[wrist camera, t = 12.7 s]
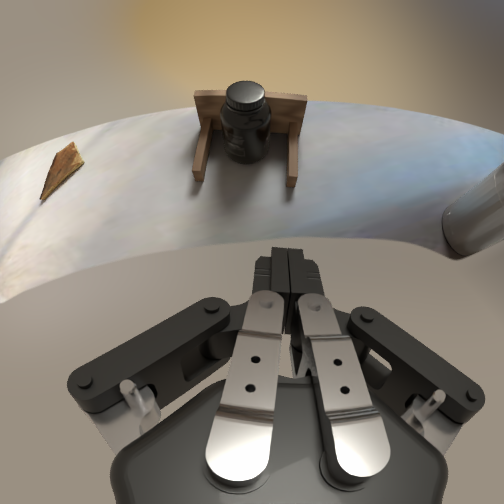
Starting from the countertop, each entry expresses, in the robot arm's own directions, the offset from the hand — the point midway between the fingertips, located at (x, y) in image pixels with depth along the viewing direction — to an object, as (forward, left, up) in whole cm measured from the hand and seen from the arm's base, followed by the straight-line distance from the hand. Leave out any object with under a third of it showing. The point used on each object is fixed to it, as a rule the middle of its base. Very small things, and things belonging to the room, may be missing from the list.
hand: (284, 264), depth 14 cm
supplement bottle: (+4, -23, -23) cm, 33 cm away
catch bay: (+4, -22, -22) cm, 32 cm away
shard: (+37, -19, -23) cm, 47 cm away
